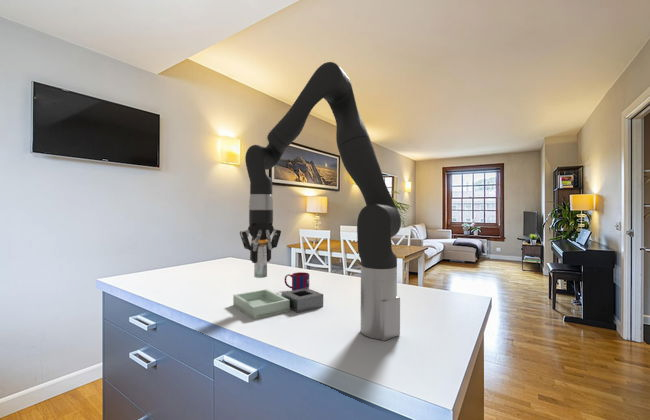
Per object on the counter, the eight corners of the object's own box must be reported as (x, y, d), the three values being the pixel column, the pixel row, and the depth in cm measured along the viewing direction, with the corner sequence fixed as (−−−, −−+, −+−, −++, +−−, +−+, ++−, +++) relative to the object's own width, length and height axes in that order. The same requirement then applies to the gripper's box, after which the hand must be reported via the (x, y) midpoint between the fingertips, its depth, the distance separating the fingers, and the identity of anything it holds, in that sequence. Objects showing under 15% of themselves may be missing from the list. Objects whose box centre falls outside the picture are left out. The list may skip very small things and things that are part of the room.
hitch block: (323, 306, 98) (323, 294, 98) (297, 312, 92) (297, 299, 92) (306, 299, 106) (306, 287, 106) (281, 304, 100) (281, 292, 100)
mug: (304, 294, 111) (304, 276, 111) (281, 291, 116) (281, 274, 116) (312, 290, 118) (312, 273, 118) (290, 287, 122) (290, 270, 122)
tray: (289, 310, 94) (289, 300, 94) (253, 319, 86) (253, 307, 86) (266, 298, 106) (266, 289, 106) (233, 305, 99) (233, 294, 99)
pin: (271, 276, 96) (271, 239, 96) (256, 278, 93) (256, 240, 93) (264, 274, 100) (264, 238, 100) (250, 276, 97) (250, 239, 97)
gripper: (244, 208, 89) (244, 266, 89) (286, 208, 98) (286, 261, 98) (235, 208, 95) (235, 262, 95) (275, 208, 104) (275, 258, 104)
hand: (260, 261), depth 96 cm, fingers closed on pin, 4 cm apart
